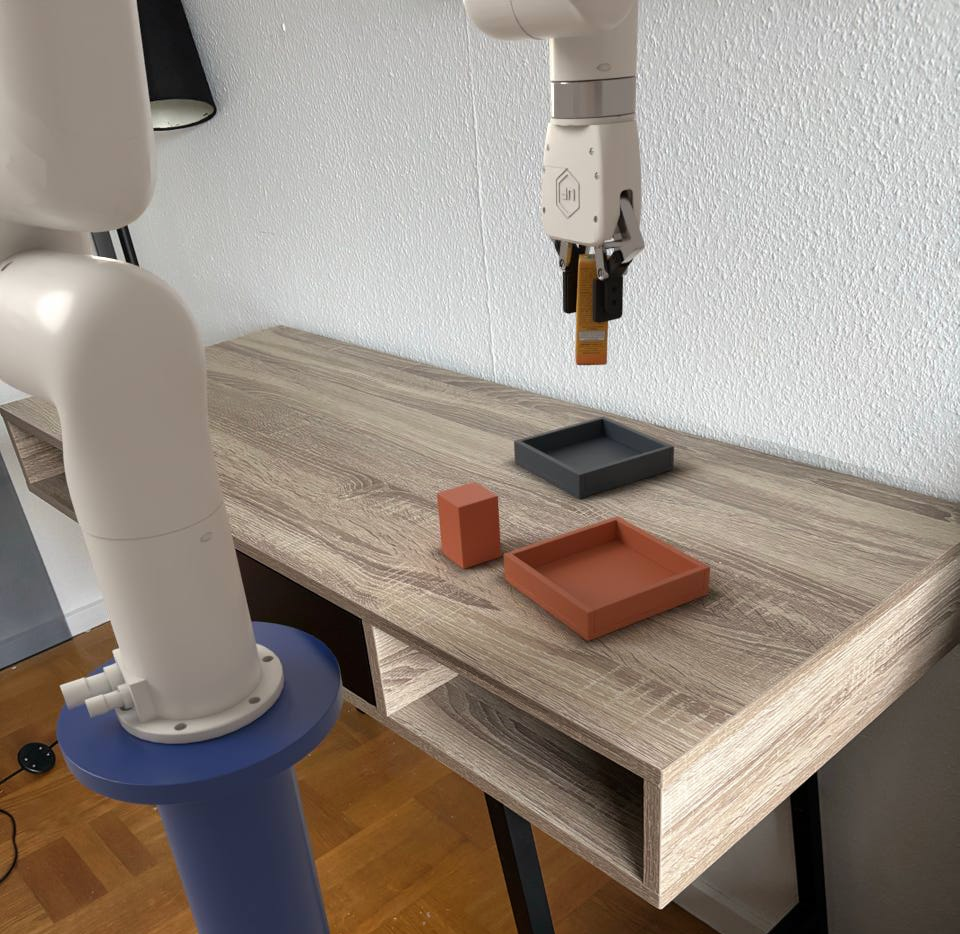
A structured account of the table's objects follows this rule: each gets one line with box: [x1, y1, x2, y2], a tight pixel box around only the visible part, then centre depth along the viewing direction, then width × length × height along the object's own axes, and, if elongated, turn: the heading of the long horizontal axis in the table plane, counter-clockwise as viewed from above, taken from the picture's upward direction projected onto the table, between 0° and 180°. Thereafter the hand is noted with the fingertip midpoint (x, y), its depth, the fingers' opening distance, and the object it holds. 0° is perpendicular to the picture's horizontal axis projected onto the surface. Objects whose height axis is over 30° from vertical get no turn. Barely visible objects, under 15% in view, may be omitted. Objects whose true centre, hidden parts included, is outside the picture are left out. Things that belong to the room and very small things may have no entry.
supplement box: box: [574, 253, 611, 366], centre depth 93 cm, size 3×3×10 cm
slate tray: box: [513, 416, 675, 500], centre depth 101 cm, size 12×12×3 cm
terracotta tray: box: [503, 515, 711, 642], centre depth 79 cm, size 12×12×3 cm
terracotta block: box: [436, 481, 502, 570], centre depth 85 cm, size 4×4×6 cm
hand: (592, 313), depth 93 cm, fingers closed on supplement box, 4 cm apart
